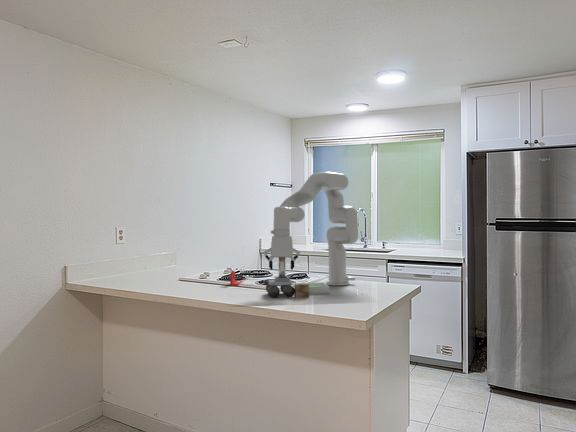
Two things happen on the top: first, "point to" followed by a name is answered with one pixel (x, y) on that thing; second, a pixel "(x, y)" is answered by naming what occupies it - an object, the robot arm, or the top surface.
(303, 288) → the chock
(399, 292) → the top surface
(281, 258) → the pin
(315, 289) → the tray
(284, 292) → the trolley
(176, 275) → the top surface
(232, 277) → the bracket
